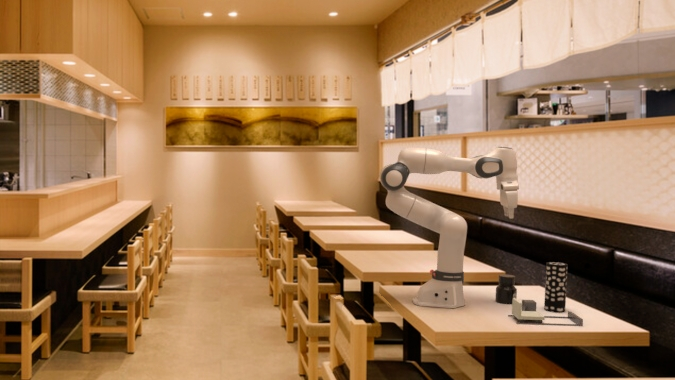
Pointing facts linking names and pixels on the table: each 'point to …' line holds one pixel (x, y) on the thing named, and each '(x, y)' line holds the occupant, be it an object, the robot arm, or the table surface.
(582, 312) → the table surface
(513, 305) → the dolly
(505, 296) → the ink bottle
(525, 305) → the steel block
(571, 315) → the track
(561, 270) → the white-spotted black cylinder
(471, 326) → the table surface
